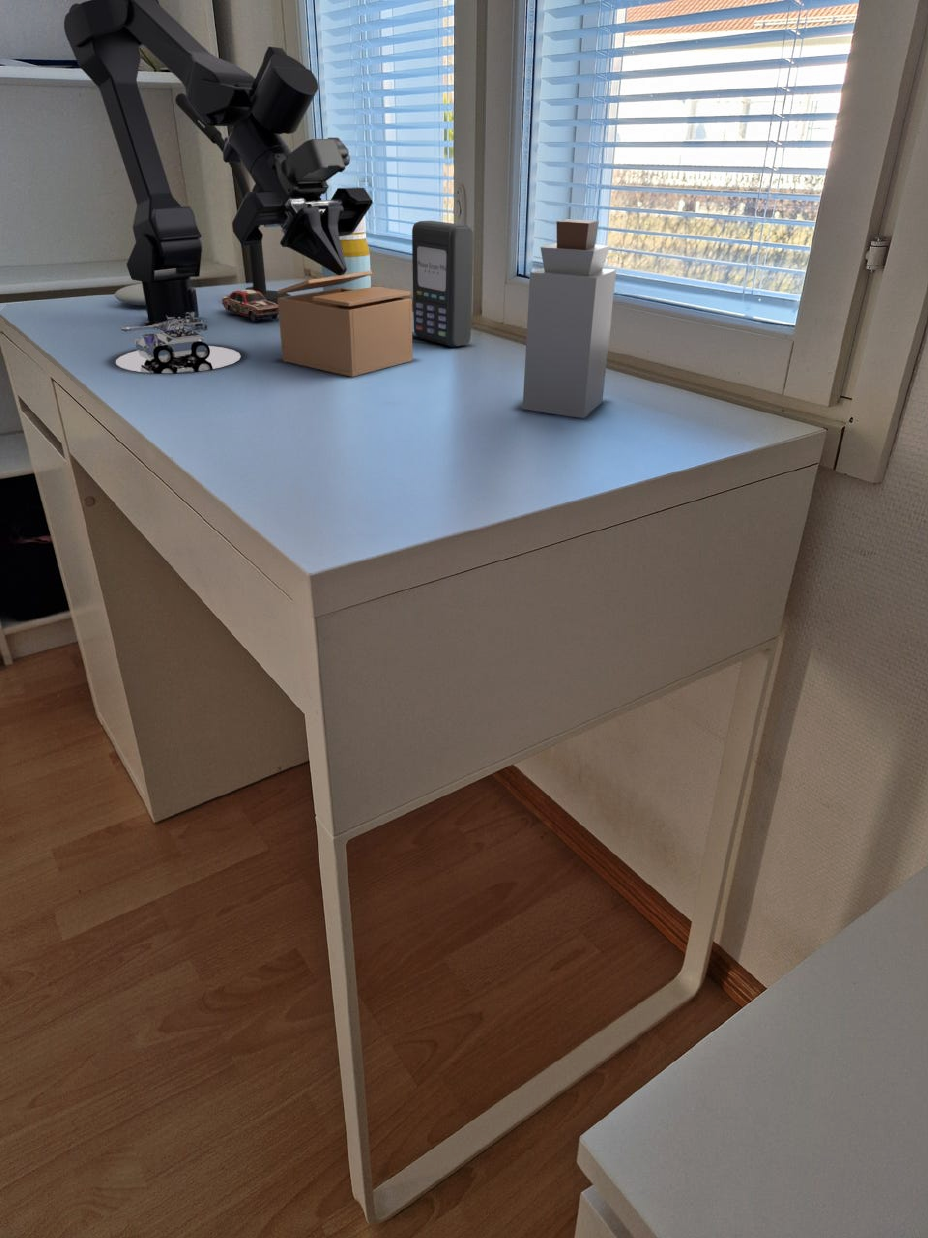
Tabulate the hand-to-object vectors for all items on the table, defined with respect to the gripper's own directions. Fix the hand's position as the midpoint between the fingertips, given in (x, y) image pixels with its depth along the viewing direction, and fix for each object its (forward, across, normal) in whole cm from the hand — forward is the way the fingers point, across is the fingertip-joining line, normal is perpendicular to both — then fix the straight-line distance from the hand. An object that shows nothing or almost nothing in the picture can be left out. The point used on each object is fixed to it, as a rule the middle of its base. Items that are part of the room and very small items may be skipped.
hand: (343, 272), depth 100 cm
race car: (-15, +11, +30) cm, 35 cm away
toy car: (-4, -13, +19) cm, 24 cm away
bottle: (-4, +17, +19) cm, 26 cm away
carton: (+7, 0, +7) cm, 10 cm away
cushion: (-29, +8, +44) cm, 53 cm away
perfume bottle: (+30, +1, -15) cm, 33 cm away
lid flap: (-1, 0, +3) cm, 3 cm away
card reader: (+9, +17, +6) cm, 20 cm away
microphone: (-25, +23, +40) cm, 53 cm away
